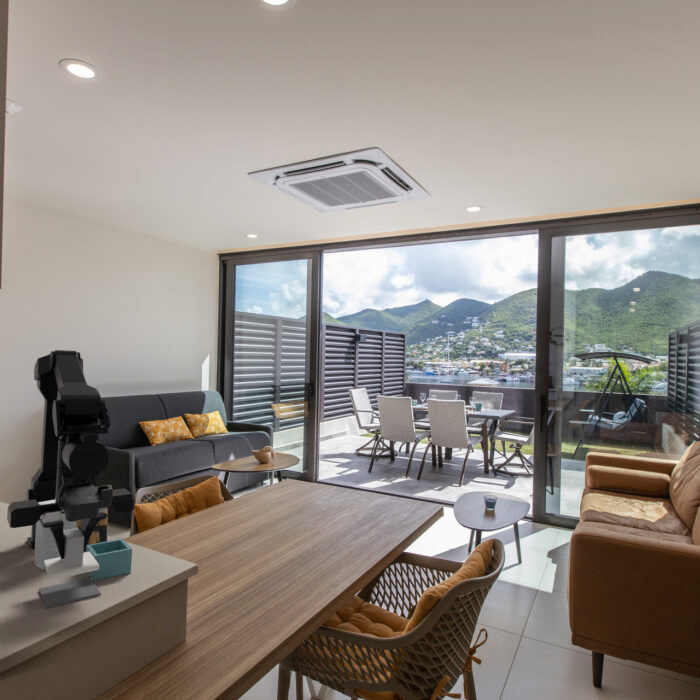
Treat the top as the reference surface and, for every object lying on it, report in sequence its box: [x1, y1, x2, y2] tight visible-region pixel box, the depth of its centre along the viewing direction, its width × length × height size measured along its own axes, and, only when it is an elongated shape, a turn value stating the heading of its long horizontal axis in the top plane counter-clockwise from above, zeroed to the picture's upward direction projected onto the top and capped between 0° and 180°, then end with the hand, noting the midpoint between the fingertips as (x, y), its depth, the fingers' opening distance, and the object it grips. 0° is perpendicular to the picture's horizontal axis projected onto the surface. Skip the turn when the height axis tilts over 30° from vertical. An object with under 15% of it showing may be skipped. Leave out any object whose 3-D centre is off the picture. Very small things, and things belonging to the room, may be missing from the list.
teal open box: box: [86, 538, 133, 582], centre depth 95 cm, size 6×6×4 cm
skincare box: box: [34, 500, 76, 571], centre depth 98 cm, size 6×4×12 cm
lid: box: [44, 528, 99, 581], centre depth 86 cm, size 7×7×6 cm
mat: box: [38, 576, 102, 609], centre depth 86 cm, size 8×8×1 cm
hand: (71, 556), depth 86 cm, fingers closed on lid, 2 cm apart
